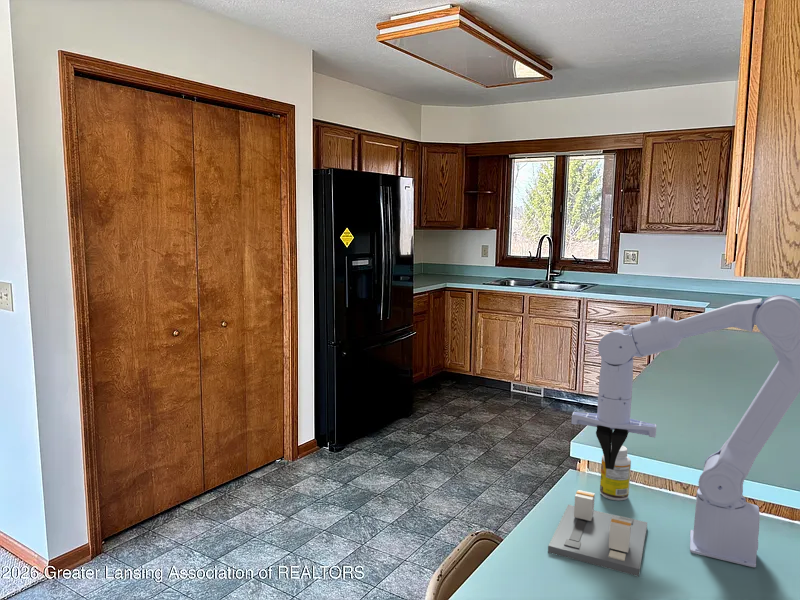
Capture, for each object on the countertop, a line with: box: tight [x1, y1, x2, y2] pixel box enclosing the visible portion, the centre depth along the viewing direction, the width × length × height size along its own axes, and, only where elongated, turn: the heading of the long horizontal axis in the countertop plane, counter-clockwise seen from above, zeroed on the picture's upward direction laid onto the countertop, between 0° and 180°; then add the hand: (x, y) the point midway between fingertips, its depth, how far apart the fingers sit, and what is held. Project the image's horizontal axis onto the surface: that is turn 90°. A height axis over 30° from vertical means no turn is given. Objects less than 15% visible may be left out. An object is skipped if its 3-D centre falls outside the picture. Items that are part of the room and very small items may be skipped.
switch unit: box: [547, 504, 648, 577], centre depth 100 cm, size 14×17×1 cm
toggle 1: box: [573, 489, 596, 521], centre depth 105 cm, size 3×3×4 cm
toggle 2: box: [609, 517, 632, 553], centre depth 95 cm, size 3×3×4 cm
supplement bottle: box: [599, 444, 632, 501], centre depth 117 cm, size 6×6×10 cm
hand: (610, 467), depth 107 cm, fingers closed
